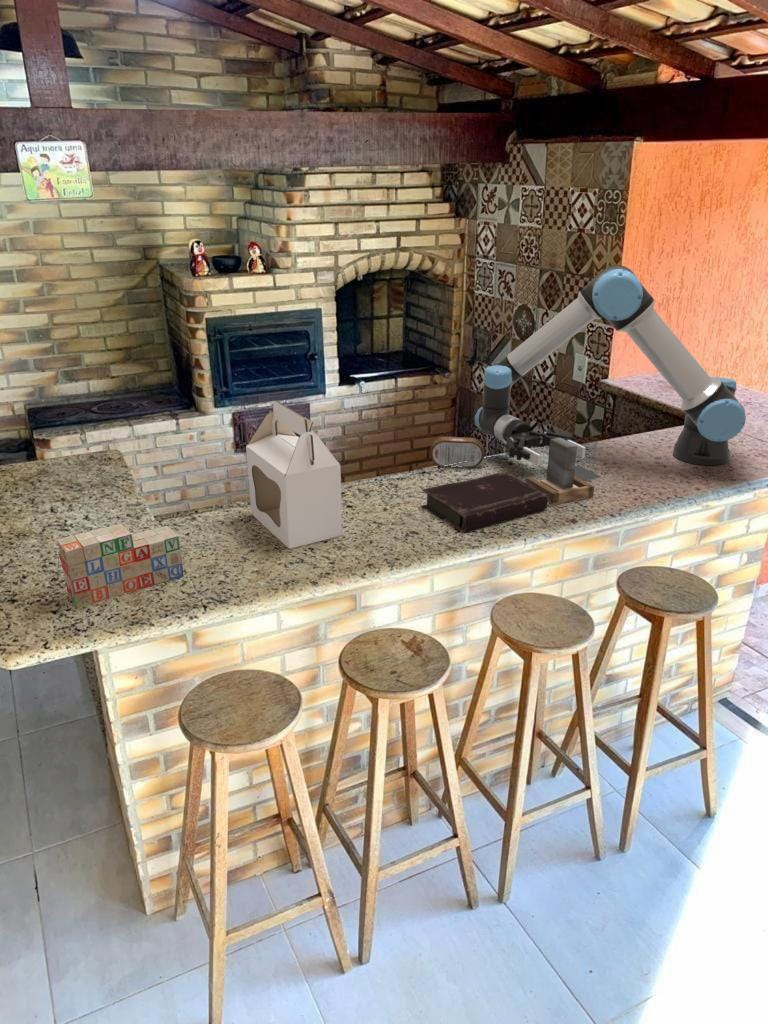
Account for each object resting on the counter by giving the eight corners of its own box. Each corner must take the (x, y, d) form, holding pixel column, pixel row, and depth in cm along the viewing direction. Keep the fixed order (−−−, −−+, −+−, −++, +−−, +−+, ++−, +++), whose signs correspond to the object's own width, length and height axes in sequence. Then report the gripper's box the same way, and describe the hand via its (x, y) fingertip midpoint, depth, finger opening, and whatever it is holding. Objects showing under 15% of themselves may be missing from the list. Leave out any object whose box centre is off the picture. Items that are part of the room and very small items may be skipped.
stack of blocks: (173, 565, 159) (166, 511, 154) (184, 577, 154) (177, 522, 149) (67, 595, 148) (56, 538, 143) (76, 609, 143) (64, 550, 138)
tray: (563, 482, 201) (565, 470, 200) (592, 498, 191) (594, 486, 190) (525, 489, 197) (526, 477, 195) (552, 506, 187) (553, 494, 185)
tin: (483, 465, 213) (485, 437, 209) (483, 469, 210) (485, 440, 206) (429, 463, 214) (430, 435, 211) (429, 467, 211) (430, 439, 208)
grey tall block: (558, 483, 198) (563, 436, 193) (577, 494, 191) (583, 445, 186) (539, 487, 196) (544, 439, 190) (558, 498, 189) (563, 449, 184)
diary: (547, 513, 185) (549, 494, 183) (464, 536, 173) (466, 516, 171) (498, 487, 199) (499, 469, 197) (419, 507, 188) (419, 488, 185)
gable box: (343, 536, 172) (340, 416, 160) (289, 550, 165) (282, 426, 154) (300, 502, 189) (295, 392, 177) (250, 514, 183) (241, 400, 171)
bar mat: (578, 466, 212) (578, 465, 212) (601, 478, 204) (601, 477, 203) (548, 471, 208) (548, 470, 208) (571, 484, 200) (571, 482, 200)
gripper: (550, 439, 213) (599, 463, 196) (473, 451, 204) (518, 478, 186) (552, 413, 210) (603, 435, 193) (475, 424, 201) (521, 449, 183)
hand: (561, 456), depth 190 cm, fingers open, 13 cm apart
